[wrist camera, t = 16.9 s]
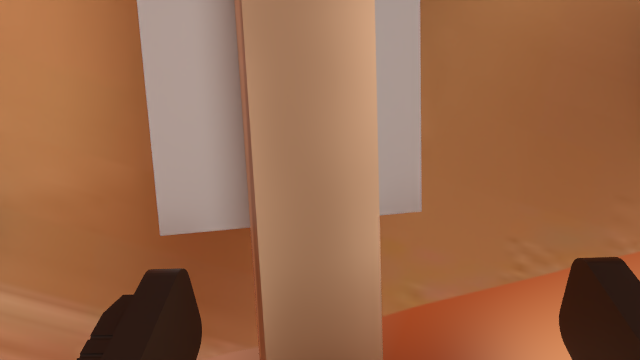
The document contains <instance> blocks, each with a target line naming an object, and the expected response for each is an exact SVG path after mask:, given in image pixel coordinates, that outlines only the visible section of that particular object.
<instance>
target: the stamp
mask: <svg viewBox="0 0 640 360" xmlns="http://www.w3.org/2000/svg"><path fill="white" fill-rule="evenodd" d="M234 5H235V19H236V33H237V47H238V61H239V75H240V89H241V103H242V117H243V131H244V145H245V159H246V173H247V187H248V201H249V215H250V229H251V243H252V257H253V271H254V285H255V299H256V313H257V328H258V342H259V355H260V360H383V347H382V346H383V345H382V300H381V256H380V212H379V167H378V123H377V79H376V34H375V0H234Z"/></svg>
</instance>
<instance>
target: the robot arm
mask: <svg viewBox="0 0 640 360" xmlns="http://www.w3.org/2000/svg"><path fill="white" fill-rule="evenodd" d="M559 326H560V332H561V336H562V339H563V342H564V344H565V346H566V348H567V350H568V352H569V354H570V356H571V358H572V360H640V281H639V280H638V279H637V277H636V276H635V275H634V274H633V272H632V271H631V270H630V269H629V267H628V266H627V265H626V263H625V262H624V261H623V260H622V259H620V258H618V257H601V258H577V259H575V260H574V262H573V264H572V266H571V270H570V274H569V278H568V281H567V286H566V289H565V293H564V297H563V301H562V305H561V309H560V314H559ZM90 336H91V338H90V340H88V341H87V342H86V344H85V346H84V348H83V349H82V351H81V353H80V358H77V360H196V358H197V355H198V352H199V349H200V344H201V337H202V324H201V318H200V314H199V310H198V307H197V303H196V299H195V296H194V292H193V289H192V285H191V281H190V278H189V275H188V272H187V271H186V270H185V269H151V270H148V271H147V272H146V273H145V275H144V276H143V278H142V280H141V282H140V284H139V286H138V288H137V290H136V292H135V294H134V295H122V296H121V297H120V298H119V299H118V300H117V301H116V302H115V303H114V304H113V305H112V306H111V307H109V308H108V309H107V310H106V311H105V312H104V313H103V314H102V316H101V318H100V320H99V321H98V323H97V325H96V327H95V328H94V330H93V332H92V334H91V335H90Z"/></svg>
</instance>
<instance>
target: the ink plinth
mask: <svg viewBox="0 0 640 360" xmlns="http://www.w3.org/2000/svg"><path fill="white" fill-rule="evenodd" d="M137 7H138V18H139V28H140V38H141V48H142V58H143V68H144V78H145V88H146V98H147V108H148V118H149V128H150V139H151V149H152V159H153V169H154V179H155V189H156V199H157V209H158V219H159V229H160V236H165V235H176V234H186V233H197V232H208V231H218V230H229V229H240V228H250V215H249V201H248V187H247V173H246V159H245V145H244V131H243V117H242V103H241V89H240V75H239V61H238V47H237V33H236V19H235V5H234V0H137ZM375 34H376V79H377V123H378V167H379V212H380V215H389V214H400V213H410V212H421V211H422V200H421V63H420V0H375Z"/></svg>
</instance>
